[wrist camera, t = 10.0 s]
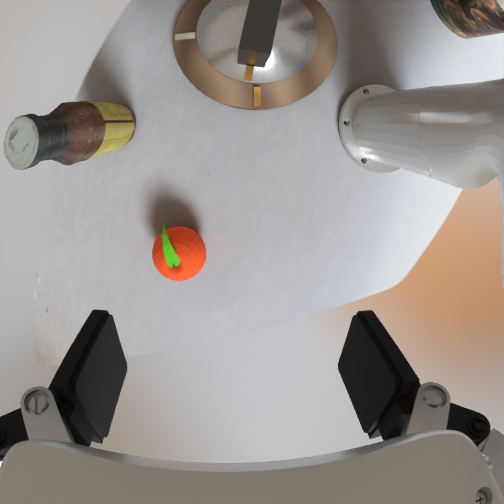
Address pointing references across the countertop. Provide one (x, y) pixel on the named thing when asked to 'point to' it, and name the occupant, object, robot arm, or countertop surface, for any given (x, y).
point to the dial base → (253, 94)
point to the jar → (471, 16)
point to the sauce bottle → (68, 133)
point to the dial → (257, 38)
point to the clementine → (179, 253)
